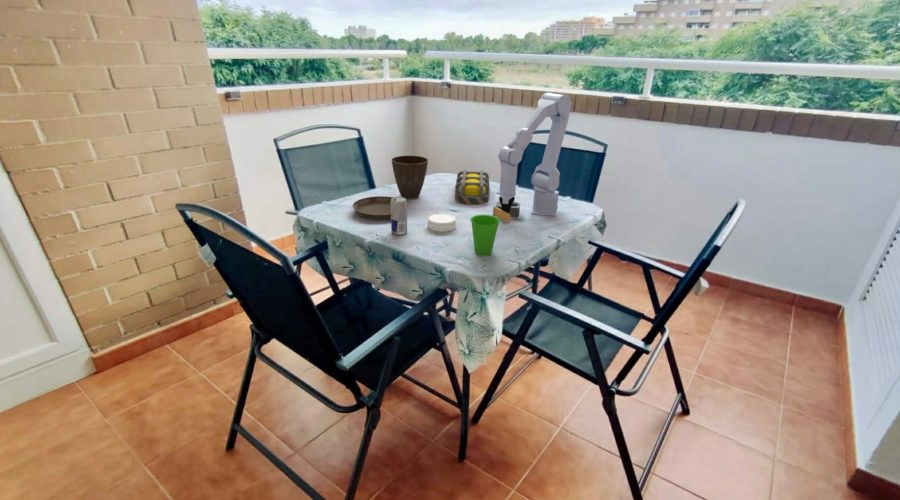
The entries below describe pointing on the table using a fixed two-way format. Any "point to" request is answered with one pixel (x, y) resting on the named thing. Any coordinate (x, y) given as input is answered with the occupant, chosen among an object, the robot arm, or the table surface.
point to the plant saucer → (374, 207)
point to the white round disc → (441, 222)
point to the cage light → (472, 188)
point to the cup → (484, 233)
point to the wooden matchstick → (501, 214)
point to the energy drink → (398, 215)
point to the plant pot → (409, 175)
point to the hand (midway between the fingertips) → (505, 216)
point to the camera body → (513, 211)
